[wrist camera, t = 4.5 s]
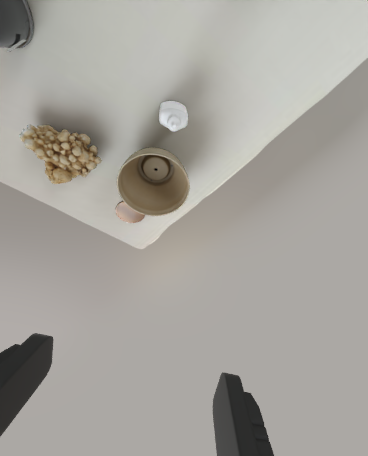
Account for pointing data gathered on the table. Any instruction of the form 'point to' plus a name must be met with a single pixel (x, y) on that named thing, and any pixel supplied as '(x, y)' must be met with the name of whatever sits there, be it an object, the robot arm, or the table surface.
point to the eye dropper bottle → (173, 115)
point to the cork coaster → (128, 213)
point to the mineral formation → (61, 152)
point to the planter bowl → (153, 182)
